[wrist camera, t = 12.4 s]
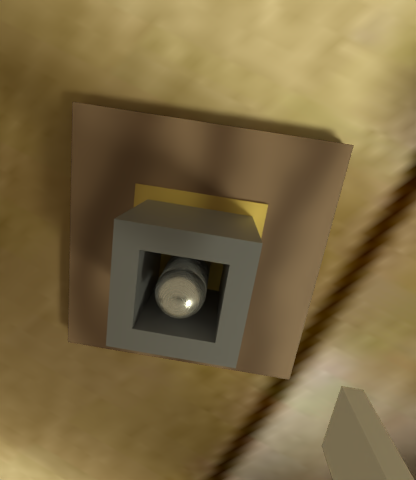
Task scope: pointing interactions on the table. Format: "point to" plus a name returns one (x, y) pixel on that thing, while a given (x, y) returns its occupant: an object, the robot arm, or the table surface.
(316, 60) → the table surface
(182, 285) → the steel post
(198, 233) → the collar
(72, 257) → the base plate
